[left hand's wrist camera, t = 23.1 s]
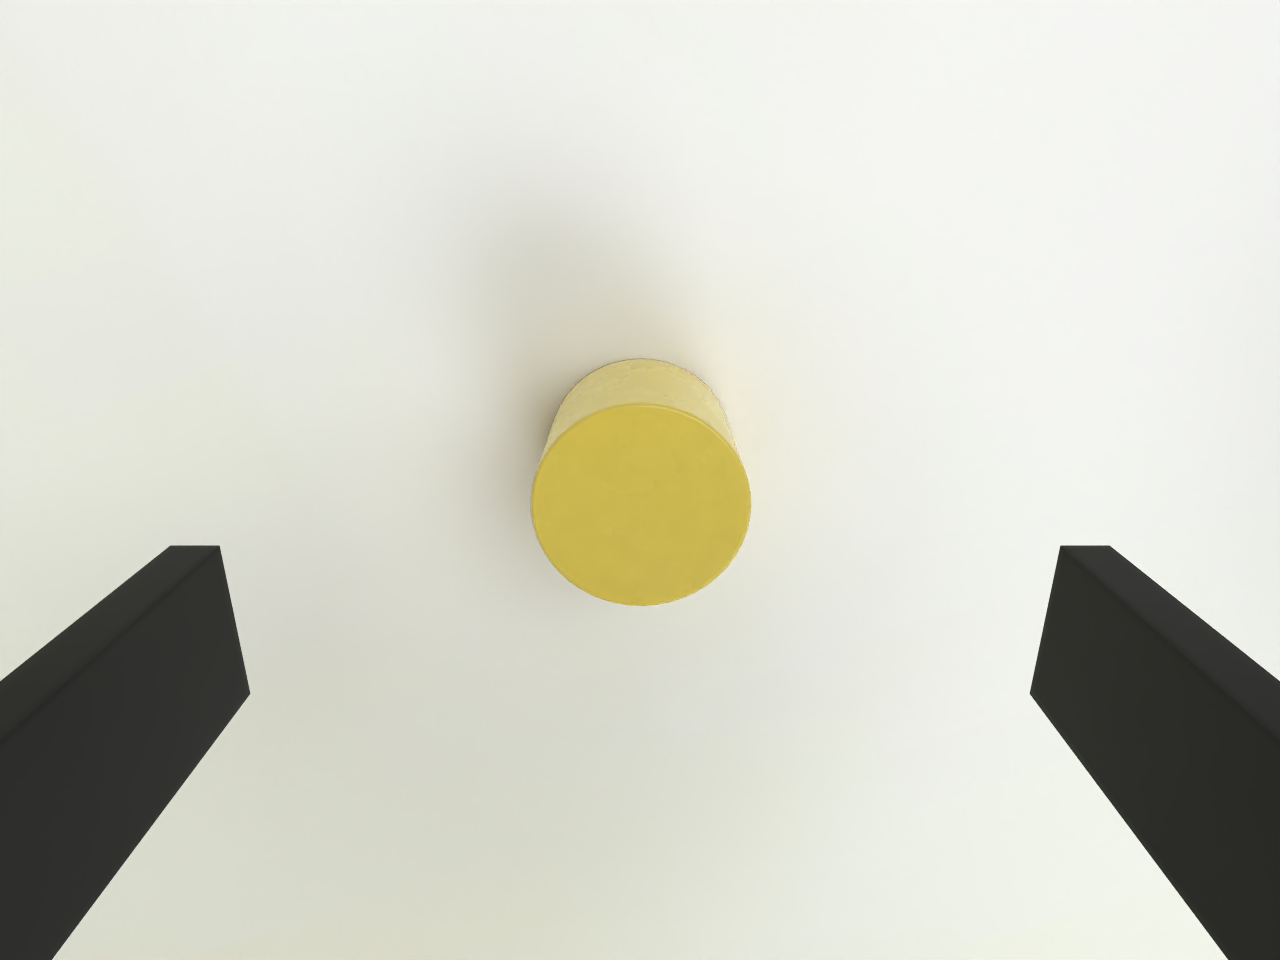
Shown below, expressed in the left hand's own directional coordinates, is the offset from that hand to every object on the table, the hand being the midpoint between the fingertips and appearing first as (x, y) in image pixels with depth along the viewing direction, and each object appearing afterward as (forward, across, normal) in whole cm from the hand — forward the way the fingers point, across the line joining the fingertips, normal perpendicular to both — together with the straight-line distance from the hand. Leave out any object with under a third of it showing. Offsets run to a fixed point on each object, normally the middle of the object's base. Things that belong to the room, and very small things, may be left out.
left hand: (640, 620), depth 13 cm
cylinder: (+9, 0, 0) cm, 9 cm away
